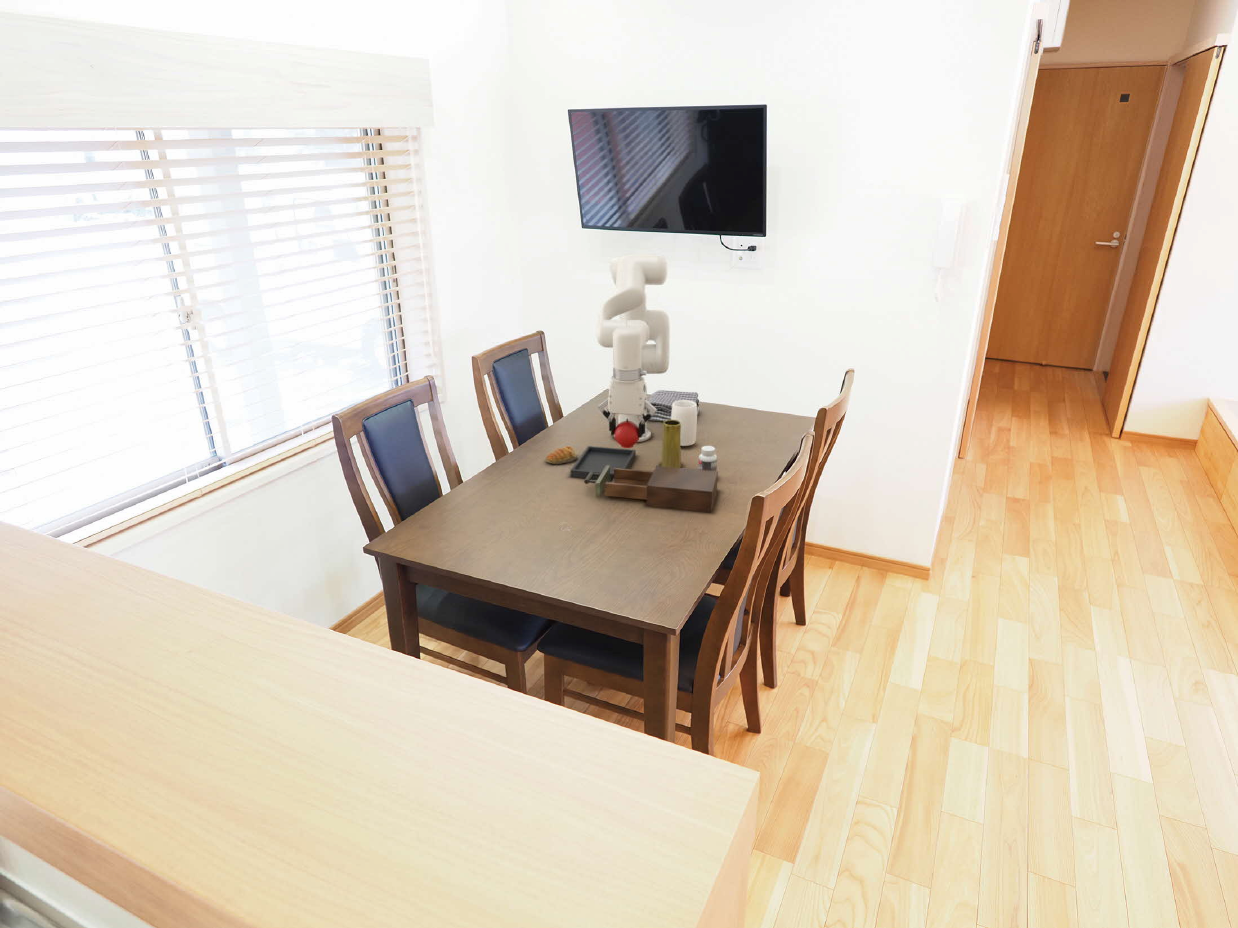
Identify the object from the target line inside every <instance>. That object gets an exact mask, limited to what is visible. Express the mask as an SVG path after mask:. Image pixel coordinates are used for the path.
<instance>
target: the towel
mask: <svg viewBox="0 0 1238 928" xmlns="http://www.w3.org/2000/svg"><path fill="white" fill-rule="evenodd" d="M698 397H699V393H698V392H694V391H692V392H691V391H690V392H689V391H676V390H665V389H659V390H657V391H655V392H653V393H652V394H651V395H650V397H649V398H648V399H647V401H648V402H649V403H650V404H651V405H652V406H654V407H655V408H656V409H657V411H656V412H655V414H654V415H653V416H652V417H651V418H650V419H649V420H648V421H653V422H664V421H666V420H671V413H672V404H673V402H675V401H679V400H689V401H693V402H695V403H696V404H697V415H698V414H699V412H700V404H699V402H700V400H699V398H698ZM649 412H650V411H649V410H648V409H647V414H648V413H649Z"/></svg>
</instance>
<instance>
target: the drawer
mask: <svg viewBox="0 0 1238 928" xmlns="http://www.w3.org/2000/svg"><path fill="white" fill-rule="evenodd" d="M653 472H654V470H641V469H631V468H629V469H621V468H614V479H613V481H610V466H609V465H606V467H605V468H604V470H603V472H602V473H601V474H598V473H594V472H592V471H591V472H590V473H589V474H588V476H587V477H586V478H584V481H583V483H584V484H585V485H588V484H594V485H595V498H601V496H602V494H603V492H604V493H605V496H606V497H607V496H608V497H616V498H627V499H637V500H646V501H647V484H648V482H649V480H650V478H651V476H652V474H653ZM593 476H599V478H598V480H597V479H596V480H594V479H592V477H593Z"/></svg>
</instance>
